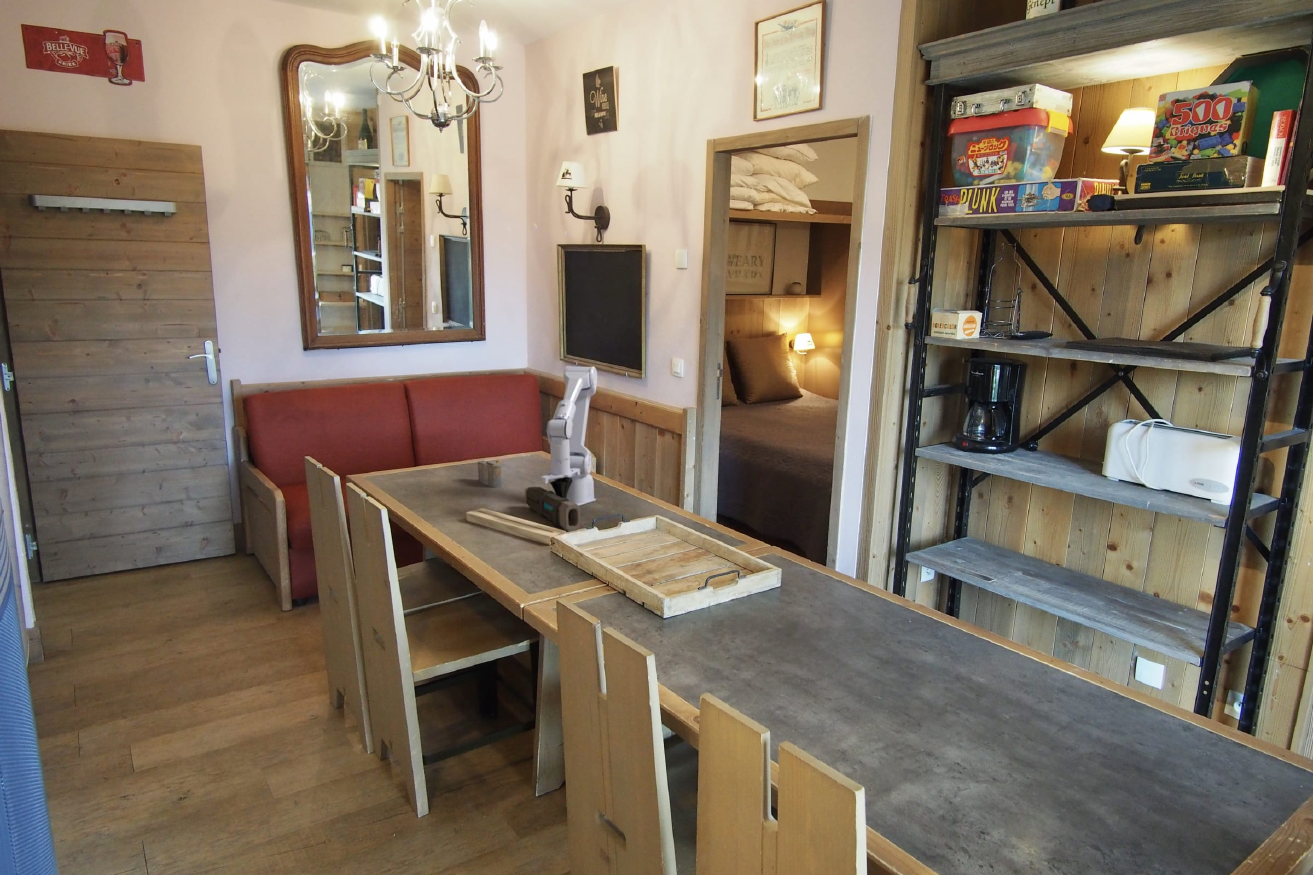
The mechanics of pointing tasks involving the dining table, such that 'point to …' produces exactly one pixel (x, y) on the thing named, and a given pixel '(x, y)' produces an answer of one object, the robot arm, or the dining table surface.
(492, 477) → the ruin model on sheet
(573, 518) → the tube
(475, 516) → the plank
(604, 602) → the dining table surface
